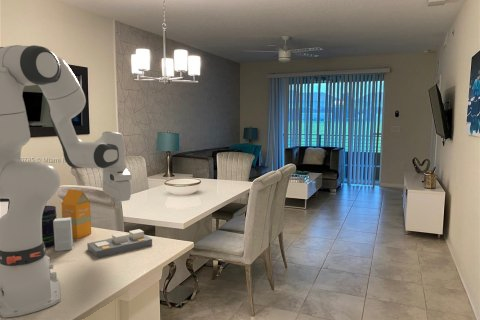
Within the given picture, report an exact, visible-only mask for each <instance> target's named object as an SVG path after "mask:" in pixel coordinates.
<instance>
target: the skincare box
mask: <svg viewBox="0 0 480 320" xmlns="http://www.w3.org/2000/svg"><path fill="white" fill-rule="evenodd" d="M56 218H57V217H56ZM53 226H54V241H55V246H54V251H55V252H60V251H69V250H72V249H73V247H74V241H73V240H74V238H72V223H71V217H69V218H62V217H59V218H57V219H55V220H54V221H53Z"/></svg>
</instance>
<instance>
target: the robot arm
mask: <svg viewBox="0 0 480 320" xmlns="http://www.w3.org/2000/svg"><path fill="white" fill-rule="evenodd" d="M36 85H37V86H38V88H40V90H41V91H42V94H43V95H44V97H45V100H46V101H47V103H48V106H49V111H48V112H49V114H48V115H49V118H50V122H51V124H52V126H53V130H54V132H55V134H56V136H57V139H58V141H59V144H60V146H61V148H62V153H63V158H64V161H65V162H66V164H67V165H68V166H69V167H70V168H73V169H83V168H84V169H102V192H103V193H104V194H106V195H107V196H110V199H111V202H112V207H113V208H114V209H120V208H121V202H125V201H130V199H131V191H132V187H131V180H132V174H131V173H130V171H129V170H128V169H127V163H126V162H127V161H126V155H127V154H126V153H127V152H126V150H127V149H126V142H125V137H124V135H123V134H122V133H120V132H117V131H103V132H102V133H101V136H100V137H99V138H98V139H97V140H95V141H83V140H81V139H80V138H79V137H78V135H77V133H76V130H75V128H74V125H73V122H72V119H73V118H75V117H76V116H78V115H79V114H80V113H81V112H83V110H84V108H85V107H86V103H87V100H86V99H87V98H86V95H85V93H84V90H83V88H82V86H81V84H80V83H79V81H78V79H77V76H76V75H75V73H74V72H73V71H72V69H71V68H70V66H69V65H68V64H67V63H66V61H65V60H64V59H63V58H62V57H59V56H56V54H55V53H54V52H53V51H52V50H50V49H48V48H47V47H44V46H41V45H35V44H34V45H33V44H32V45H22V44H21V45H20V44H19V45H18V44H15V45H8V46H0V199H8V200H9V203H8V209H7V212H6V213H5V214H3V215H2V216H1V217H0V317H2V318H3V319H4V318H15V317H19V316H20V317H21V316H24V315H29V314H32V313H35V312H39V311H42V310H44V309H48V308H50V307H52V306H54V305H56V304H59V302H61V290H60V279H59V278H58V277H57V271H54V272H51V270H53V269H54V264H53V263H52V264H51V261H50V259H51V258H50V256H48V255H46V248H45V245H44V241H42V214H43V211H44V208H45V206H47V203H48V202H49V200H50V199H51V198H52V197H54V196H55V195H56V194H57V192H58V190H59V188H60V186H61V177H60V174H59V172H58V170H57V169H56V167H54V166H51V165H49V164H45V163H43V162H39V161H22V158H21V156H22V153H21V152H22V149H23V147H24V146H25V145H26V144H27V143H29V141H30V139H31V132H30V131H31V130H30V126H29V120H28V115H27V110H26V104H25V101H24V97H23V93H24V88H25V87H27V86H28V87H29V86H36Z"/></svg>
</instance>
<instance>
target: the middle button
mask: <svg viewBox="0 0 480 320" xmlns="http://www.w3.org/2000/svg"><path fill="white" fill-rule="evenodd" d="M111 235H112V236H111V238H112V241H113V242H114V243H115V244H118V243H122V242H127V235H128V234H126V233H125V232H124V231H123V232H117V233H114V234H113V233H112V234H111Z"/></svg>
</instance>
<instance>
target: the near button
mask: <svg viewBox="0 0 480 320" xmlns="http://www.w3.org/2000/svg"><path fill="white" fill-rule="evenodd" d="M94 245H95V246H96V247H97V248H99V247H104V246H109V245H110V244H109V243H108V242H106V241H103V242H98V243H94Z"/></svg>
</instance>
